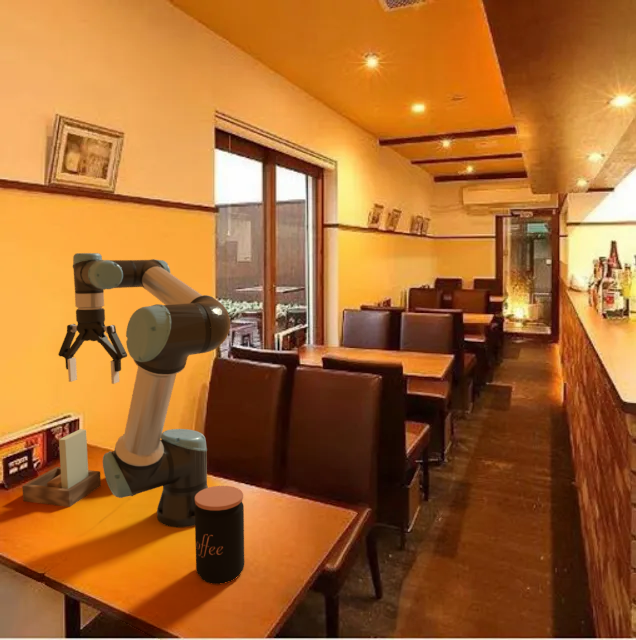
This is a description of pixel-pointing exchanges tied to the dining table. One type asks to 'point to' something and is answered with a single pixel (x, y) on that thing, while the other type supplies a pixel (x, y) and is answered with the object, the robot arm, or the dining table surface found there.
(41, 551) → the dining table surface
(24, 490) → the tray
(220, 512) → the coffee jar
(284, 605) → the dining table surface
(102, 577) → the dining table surface
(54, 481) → the offcut top
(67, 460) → the panel
